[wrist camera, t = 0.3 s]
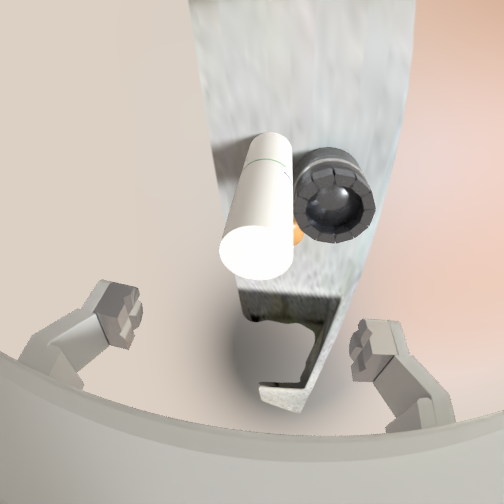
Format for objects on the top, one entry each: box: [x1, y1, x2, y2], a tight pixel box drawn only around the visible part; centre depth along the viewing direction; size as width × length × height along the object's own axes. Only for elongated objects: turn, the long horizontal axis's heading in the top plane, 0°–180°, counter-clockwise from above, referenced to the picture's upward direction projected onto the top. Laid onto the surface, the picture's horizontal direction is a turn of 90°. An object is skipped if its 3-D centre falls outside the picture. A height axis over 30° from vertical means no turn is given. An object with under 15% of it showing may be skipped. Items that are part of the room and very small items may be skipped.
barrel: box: [293, 147, 376, 243], centre depth 45 cm, size 12×12×10 cm
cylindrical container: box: [219, 132, 293, 280], centre depth 37 cm, size 7×7×25 cm
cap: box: [293, 215, 304, 246], centre depth 55 cm, size 7×7×5 cm
